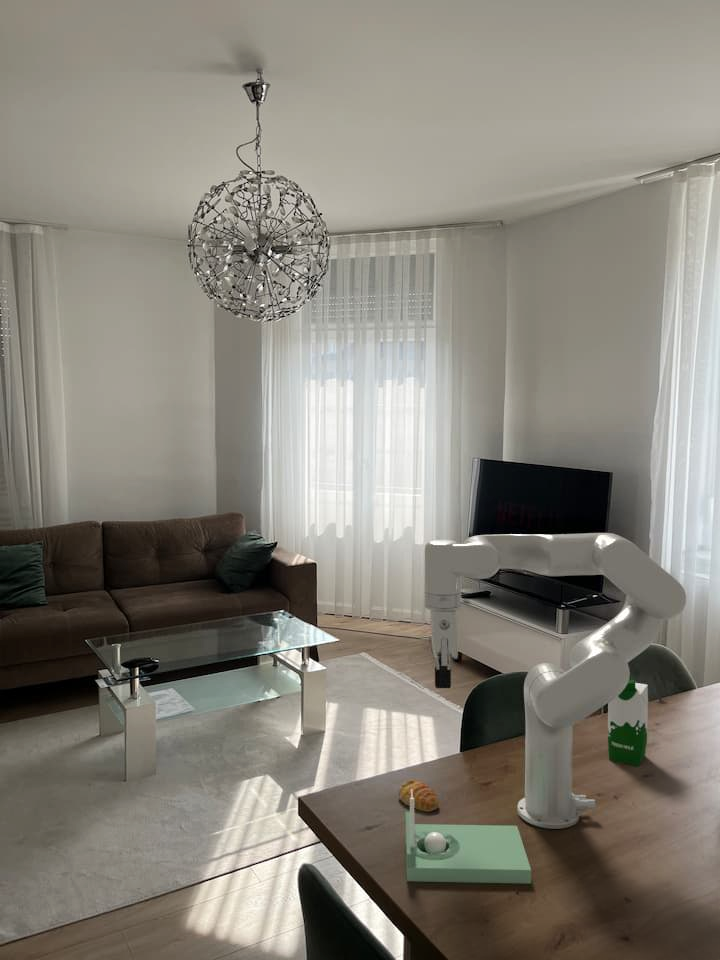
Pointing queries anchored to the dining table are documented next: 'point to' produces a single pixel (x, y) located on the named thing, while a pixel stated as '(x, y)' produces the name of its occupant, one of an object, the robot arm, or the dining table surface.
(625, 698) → the milk carton
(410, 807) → the flag
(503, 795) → the dining table surface
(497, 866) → the mat
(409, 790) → the pastry
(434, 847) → the ball
